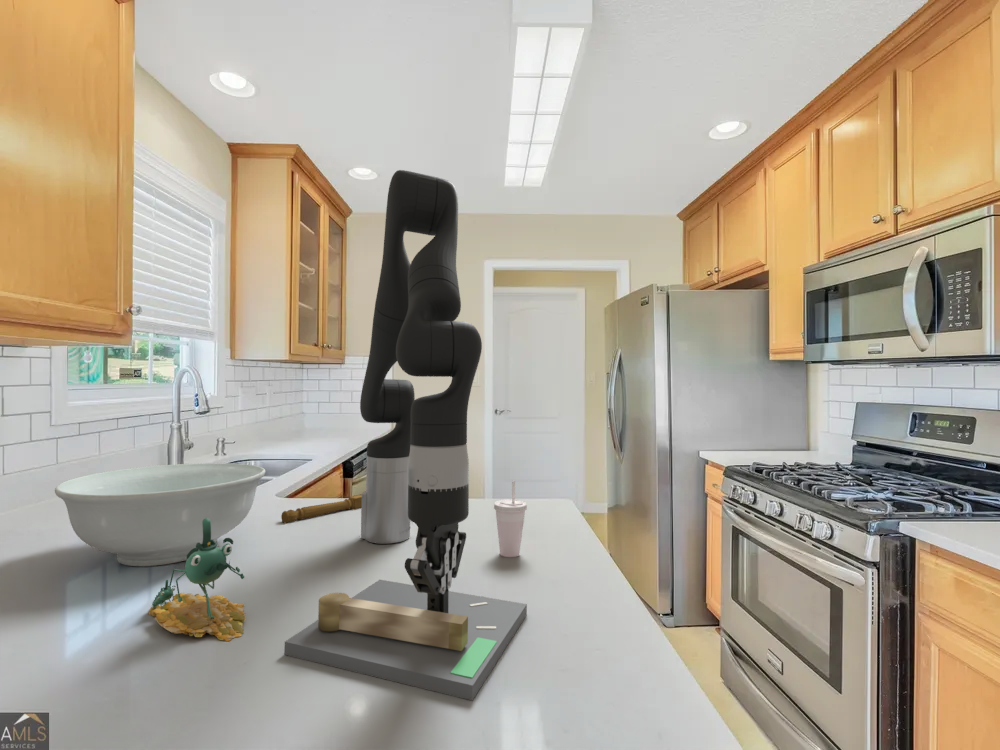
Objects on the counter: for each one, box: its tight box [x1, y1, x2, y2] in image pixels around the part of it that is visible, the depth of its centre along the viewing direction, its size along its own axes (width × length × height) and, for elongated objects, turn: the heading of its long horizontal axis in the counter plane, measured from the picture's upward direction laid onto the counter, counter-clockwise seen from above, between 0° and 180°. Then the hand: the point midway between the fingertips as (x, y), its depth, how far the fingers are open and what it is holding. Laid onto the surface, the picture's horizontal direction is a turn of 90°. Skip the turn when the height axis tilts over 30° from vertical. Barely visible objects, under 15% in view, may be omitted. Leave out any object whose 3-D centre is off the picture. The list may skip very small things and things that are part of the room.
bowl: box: [54, 462, 266, 567], centre depth 92 cm, size 32×32×15 cm
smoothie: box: [493, 480, 528, 558], centre depth 94 cm, size 6×6×14 cm
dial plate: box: [283, 579, 528, 701], centre depth 63 cm, size 24×20×2 cm
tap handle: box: [280, 493, 362, 524], centre depth 124 cm, size 3×3×30 cm
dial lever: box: [317, 592, 468, 651], centre depth 59 cm, size 19×4×3 cm, turn 74°
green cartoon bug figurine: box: [147, 518, 247, 642], centre depth 66 cm, size 10×18×15 cm, turn 57°
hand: (437, 620), depth 60 cm, fingers closed
